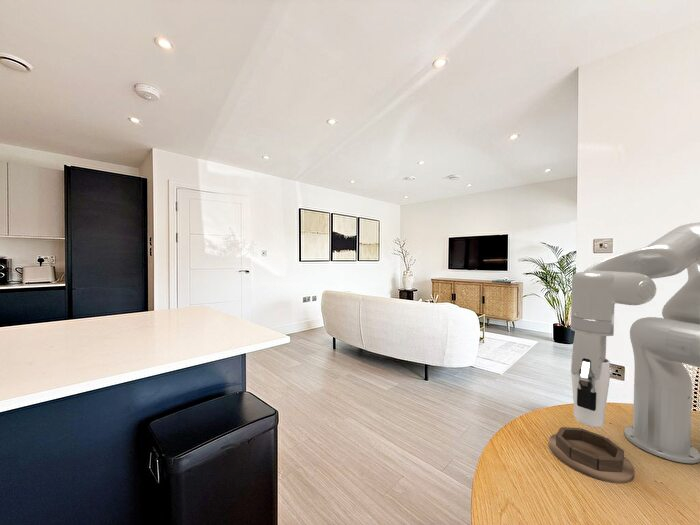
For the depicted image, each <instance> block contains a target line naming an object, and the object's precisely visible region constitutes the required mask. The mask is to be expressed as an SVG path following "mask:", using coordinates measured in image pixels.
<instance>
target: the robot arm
mask: <svg viewBox="0 0 700 525" xmlns="http://www.w3.org/2000/svg"><path fill="white" fill-rule="evenodd" d="M686 269H687V276H688V278H687V281H686V282H685V284H684V285H683V286H681V287H680V288H679V290H677V292H675V293H674V294H673V295H672V296H671V297H670V298H669V299H668V301H666V303H665V304H664V305H663V307H662V310H661V315H662V317H656V316H655V317H653V316H648V317H641V318H638V319H637V320H635V321H634V322H633V323H632V324H631V326H630V329H629V339H630V343H631V348H632V352H633V360H634V361H633V362H634V373H633V374H634V375H633V376H634V377H633V407H632V408H633V409H632V410H633V412H632V414H633V415H632V426H627V427H625V428H624V432H623V433H624V436H625V438H626V439H627V440H629V442H630V443H632V444H633V445H634V446H635V447H638V448H639V449H642V450H643V451H645V452H647V453H649V454H652V455H655V456H657V457H660V458H663V459H666V460H668V461H673V462H677V463H682V464H696V463H697V464H698V463H699V462H700V451H699V450H698V449H697V448H695V446H693V445H692V444H691V442H692V441H691V439H692V438H691V435H692V434H691V433H692V430H691V429H692V405H693V404H692V400H693V383H692V382H693V381H692V377H691V375H690V373H689V372H688V370H687V369H686V366H685V365H689V366H692V367H695V368H699V369H700V222H693V223H692V222H691V223H686V224H681V225H680V226H677V227H675V228H674V229H672V230H670V231H668V232H667V233H665V234H664V235H662V236H660V237H659V238H658V239H656V240H654V241H652V242H651V243H650V244H648V245H646V246H644V247H640V248H636V249H634V250H629V251H627V252H624V253H622V254H617V255H614V256H610V257H608V258H607V257H606V258H604V259H602V260H600V261H598V262H596V263H594V264H593V265H591V266H590V267H588V268H586V269H585V270H583V271H579V272H575V273H574V274H573V275H572V279H571V298H570V299H571V305H570V306H571V308H570V311H571V312H570V330H571V331H573V332H574V336H573V344H572V355H571V363H572V366H571V369H570V373H572V374H573V375H575V374H578V372H579V370H580V372H579V382H578V388H577V405H578V406H580V407H583V408H586V409H589V410H592V411H595V410H596V392H595V381H596V380H598V379H600V375H601V370H602V363H603V362H605V359H607V355H606V354H607V337H612V336H614V334H615V333H614V332H615V331H614V330H615V329H614V327H615V304H618V305H625V306H626V305H627V306H641V305H644V304H647V303H649V302H650V301H652V300H653V299H654V298H655V296H656V294H657V286H656V284H655V282H654V279H661V278H666V277H667V278H668V277H672V276H675V275H678V274H680V273H682V272H683V271H685V270H686ZM684 364H685V365H684ZM590 366H591V367H590ZM581 368H582V369H581ZM590 369H591V373H592V374H593V378H592V377H589V372H590ZM589 380H592V383H590V382H589Z"/></svg>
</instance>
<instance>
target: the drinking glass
mask: <svg viewBox="0 0 700 525" xmlns="http://www.w3.org/2000/svg"><path fill="white" fill-rule="evenodd" d="M570 365H571V366H572V362H571V363H570ZM590 367H591V366H590ZM581 369H582V368H581ZM579 372H580V370H579ZM579 372H578V374H575V375H573V374H572V373H571V372H570V373H571V385H572V399H573V400H572V401H573V418H574V420H576V421H577V422H579V424H582V425H585V426H587V427H592V428H596V429H597V428H602V427H604V425H605V415H606V407H607V399H608V395H609V389H610V388H609V387H610V379H611V362H610V360H609V359H608V358H605V362H603V363H602V370H601V375H600V379H598V380H596V381H595V392H596V410H595V411H592V410H589V409H586V408H583V407H580V406H578V405H577V388H578V382H579ZM589 377H592V378H593V374H592V373H591V369H590V372H589ZM589 382H590V383H592V380H589Z"/></svg>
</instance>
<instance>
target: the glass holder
mask: <svg viewBox="0 0 700 525" xmlns="http://www.w3.org/2000/svg"><path fill="white" fill-rule="evenodd" d="M548 447H549V450H550V452H551V454H552V455H554V457H555V458H557V460H559V461H560V462H562V463H563V464H565V465H566V466H568V468H571V469H572V470H574V471H576V472H578V473H580V474H582V475H584V476H587V477H590V478H592V479H595V480H599V481H602V482H606V483H612V484H627V483H630V482H632V481H633V480H634V477H635V468H634V466H633V464H632V462H631V461H630V460H629V459H628V458H627V457H626V456H625V451H624V449H623V448H621V447H620V446H619V445H618V444H616V443H614V442H613V441H612V440H611V439H609V438H607V437H606V436H603V435H601V434H598V433H596V432H593V431H590V430H587V429H584V428H582V427H581V428H580V427H570V426H569V427H567V426H566V427H565V426H561V427H559V429H558V431H557V433H554V434H552V435H550V436H549V438H548Z"/></svg>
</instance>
